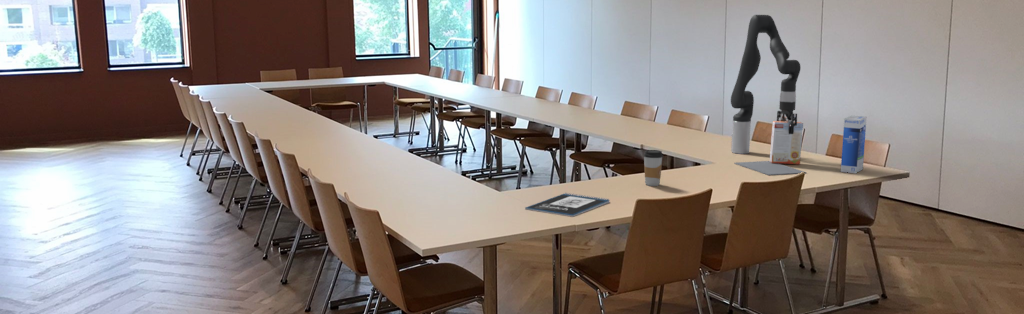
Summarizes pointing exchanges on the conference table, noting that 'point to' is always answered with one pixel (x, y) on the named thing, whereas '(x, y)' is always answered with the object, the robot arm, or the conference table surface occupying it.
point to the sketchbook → (568, 204)
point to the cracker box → (786, 143)
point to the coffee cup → (652, 167)
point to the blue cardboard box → (853, 144)
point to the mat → (769, 168)
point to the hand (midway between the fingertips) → (786, 132)
